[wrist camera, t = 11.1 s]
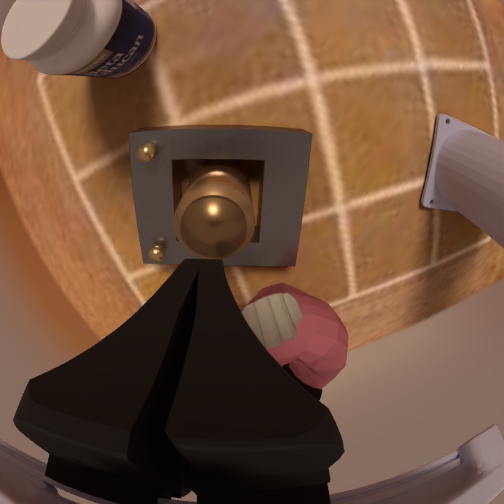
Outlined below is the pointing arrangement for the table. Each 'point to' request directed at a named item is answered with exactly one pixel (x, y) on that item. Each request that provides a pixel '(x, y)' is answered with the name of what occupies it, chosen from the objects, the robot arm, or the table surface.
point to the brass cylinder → (216, 211)
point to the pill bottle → (79, 36)
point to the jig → (221, 147)
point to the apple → (299, 334)
